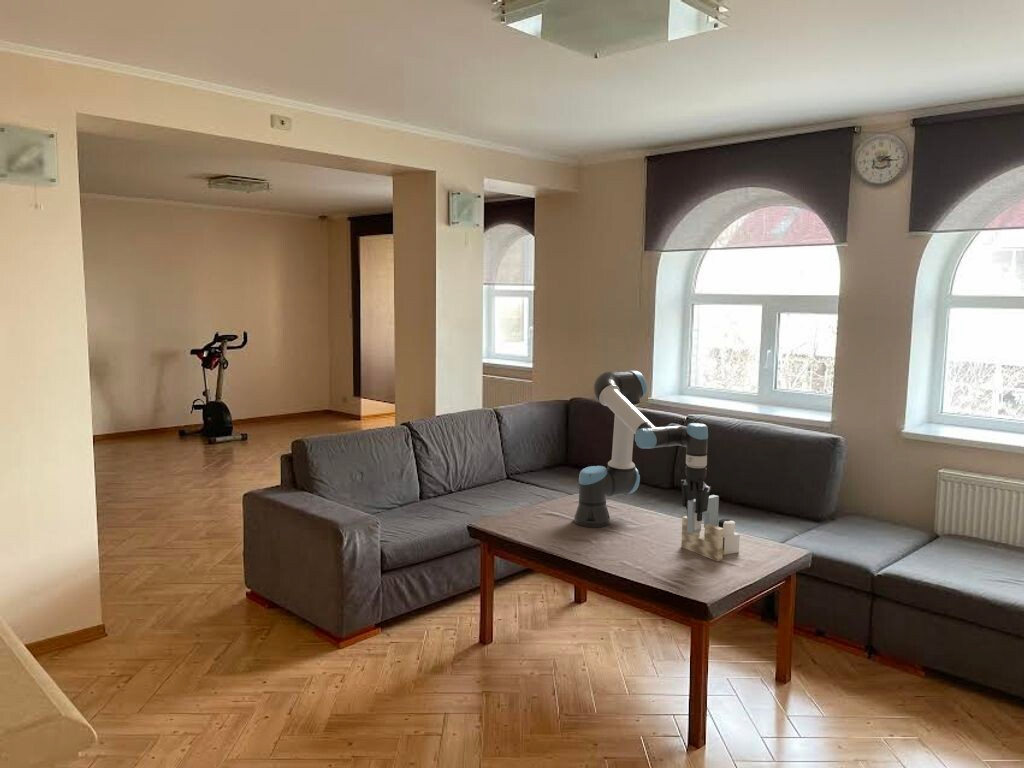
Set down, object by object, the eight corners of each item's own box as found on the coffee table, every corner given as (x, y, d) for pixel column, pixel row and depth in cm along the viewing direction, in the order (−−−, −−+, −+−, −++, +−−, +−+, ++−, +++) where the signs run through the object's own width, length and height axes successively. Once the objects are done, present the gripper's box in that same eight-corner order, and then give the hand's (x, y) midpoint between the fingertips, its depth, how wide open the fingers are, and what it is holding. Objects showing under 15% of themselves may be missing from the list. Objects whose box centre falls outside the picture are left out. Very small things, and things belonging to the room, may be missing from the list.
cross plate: (691, 533, 272) (692, 501, 271) (686, 531, 274) (687, 500, 273) (717, 527, 280) (718, 496, 278) (712, 525, 282) (713, 494, 280)
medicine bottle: (712, 548, 283) (713, 518, 282) (727, 546, 286) (728, 516, 284) (723, 555, 277) (724, 524, 275) (739, 552, 279) (740, 522, 278)
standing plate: (681, 546, 285) (682, 516, 284) (685, 545, 287) (686, 515, 285) (717, 561, 270) (719, 529, 269) (722, 560, 272) (723, 528, 270)
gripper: (673, 462, 276) (671, 524, 279) (705, 471, 263) (702, 535, 266) (687, 460, 280) (685, 520, 283) (719, 468, 267) (717, 531, 270)
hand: (694, 527), depth 274 cm, fingers closed on cross plate, 2 cm apart
